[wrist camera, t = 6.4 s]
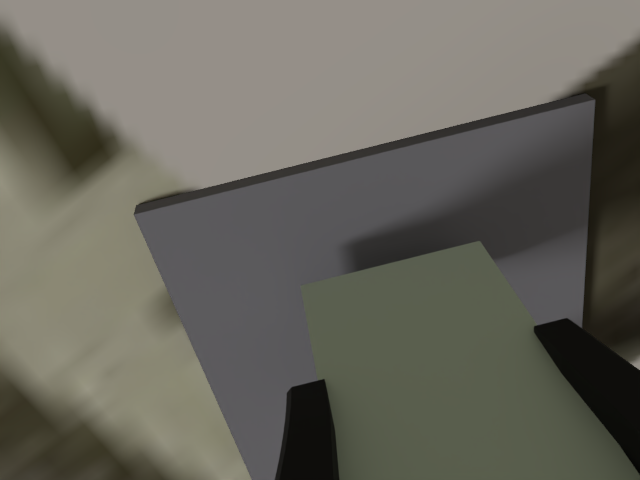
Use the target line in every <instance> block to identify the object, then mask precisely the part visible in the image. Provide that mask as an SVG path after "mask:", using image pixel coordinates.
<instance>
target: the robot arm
mask: <svg viewBox="0 0 640 480" xmlns="http://www.w3.org/2000/svg"><path fill="white" fill-rule="evenodd" d="M534 333H535V335H536V336H537V338H538V339H539V341H540V342H541V344H542V345H543V347H544V348H545V350H546V351H547V353H548V354H549V356H550V357H551V359H552V360H553V362H554V363H555V365H556V366H557V368H558V369H559V371H560V372H561V374H562V375H563V376H564V377H565V379H566V380H567V381H568V382H569V383H570V385H571V386H572V387H573V388H574V390H575V391H576V392H577V393H578V395H579V396H580V397H581V398H582V400H583V401H584V402H585V403H586V404H587V406H588V407H589V408H590V409H591V411H592V412H593V413H594V414H595V416H596V417H597V418H598V419H599V421H600V422H601V423H602V424H603V425H604V427H605V428H606V429H607V430H608V432H609V433H610V434H611V435H612V437H613V438H614V439H615V440H616V442H617V443H618V444H619V445H620V447H621V448H622V450H623V451H624V453H625V454H626V456H627V457H628V459H629V460H630V461H631V463H632V464H633V466H634V467H635V469H636V470H637V472H638V473H639V475H640V370H639V369H637V368H636V367H634V366H633V365H632V364H630V363H629V362H627V361H626V360H625V359H623V358H622V357H620V356H619V355H618V354H616V353H615V352H614V351H612V350H611V349H609V348H608V347H607V346H605V345H604V344H603V343H601V342H600V341H599V340H597V339H596V338H594V337H593V336H592V335H590V334H589V333H588V332H586V331H585V330H584V329H582V328H581V327H580V326H578V325H577V324H575V323H574V322H573V321H571V320H570V319H568V318H564V319H560V320H556V321H552V322H548V323H544V324H540V325H537V326H534ZM275 480H339V469H338V458H337V446H336V435H335V427H334V422H333V417H332V412H331V407H330V402H329V397H328V392H327V387H326V383H325V379H322V380H318V381H314V382H310V383H306V384H302V385H298V386H294V387H291V388H290V390H289V391H288V392H287V399H286V414H285V424H284V432H283V439H282V445H281V451H280V457H279V462H278V467H277V472H276V476H275Z"/></svg>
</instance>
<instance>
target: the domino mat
mask: <svg viewBox="0 0 640 480" xmlns="http://www.w3.org/2000/svg"><path fill="white" fill-rule="evenodd" d="M594 112H595V99H594V98H592V97H590V96H589V95H587V94H586V93H585V94H581V95H577V96H573V97H569V98H565V99H561V100H557V101H553V102H549V103H545V104H541V105H537V106H533V107H529V108H525V109H521V110H517V111H513V112H509V113H505V114H501V115H497V116H493V117H489V118H485V119H481V120H477V121H473V122H469V123H465V124H461V125H457V126H453V127H449V128H445V129H441V130H437V131H433V132H429V133H425V134H421V135H417V136H413V137H409V138H405V139H401V140H397V141H393V142H389V143H385V144H381V145H377V146H373V147H369V148H365V149H361V150H357V151H353V152H349V153H345V154H340V155H337V156H332V157H329V158H324V159H321V160H317V161H312V162H308V163H304V164H300V165H296V166H293V167H288V168H284V169H281V170H277V171H272V172H268V173H264V174H260V175H256V176H252V177H248V178H244V179H240V180H237V181H232V182H229V183H224V184H220V185H216V186H212V187H208V188H204V189H200V190H196V191H192V192H188V193H184V194H180V195H176V196H172V197H168V198H164V199H160V200H156V201H152V202H148V203H144V204H140V205H136V208H135V212H134V216H135V218H136V221H137V223H138V225H139V227H140V230H141V232H142V234H143V236H144V238H145V241H146V243H147V245H148V247H149V250H150V252H151V254H152V256H153V259H154V261H155V263H156V265H157V268H158V270H159V272H160V274H161V277H162V279H163V281H164V283H165V286H166V288H167V290H168V292H169V295H170V297H171V299H172V301H173V304H174V306H175V308H176V310H177V313H178V315H179V317H180V319H181V321H182V324H183V326H184V328H185V330H186V333H187V335H188V337H189V339H190V342H191V344H192V346H193V348H194V351H195V353H196V355H197V357H198V360H199V362H200V364H201V366H202V369H203V371H204V373H205V375H206V378H207V380H208V382H209V384H210V387H211V389H212V391H213V393H214V395H215V398H216V400H217V402H218V404H219V407H220V409H221V411H222V413H223V416H224V418H225V420H226V422H227V425H228V427H229V429H230V431H231V434H232V436H233V438H234V440H235V443H236V445H237V447H238V449H239V452H240V454H241V456H242V458H243V461H244V463H245V465H246V467H247V470H248V472H249V474H250V476H251V478H252V480H275V476H276V472H277V467H278V462H279V457H280V451H281V445H282V439H283V432H284V424H285V414H286V399H287V392H288V391H289V390H290V388H291V387H294V386H298V385H302V384H306V383H310V382H314V381H318V379H317V374H316V368H315V363H314V357H313V352H312V346H311V341H310V336H309V330H308V325H307V319H306V314H305V308H304V303H303V297H302V292H301V287H300V286H301V285H305V284H309V283H313V282H317V281H321V280H325V279H329V278H333V277H337V276H341V275H345V274H349V273H353V272H357V271H361V270H365V269H369V268H373V267H377V266H381V265H385V264H389V263H393V262H397V261H401V260H405V259H409V258H413V257H417V256H421V255H425V254H428V253H432V252H436V251H440V250H444V249H448V248H452V247H456V246H460V245H464V244H468V243H472V242H476V241H480V242H481V243H482V245H483V246H484V248H485V249H486V251H487V252H488V253H489V255H490V256H491V258H492V259H493V261H494V262H495V264H496V265H497V267H498V268H499V270H500V271H501V273H502V274H503V275H504V277H505V278H506V280H507V281H508V283H509V284H510V286H511V287H512V289H513V290H514V292H515V293H516V294H517V296H518V297H519V299H520V300H521V302H522V303H523V305H524V306H525V308H526V309H527V311H528V312H529V314H530V315H531V316H532V318H533V319H534V321H535V322H536V324H537V325H540V324H544V323H548V322H552V321H556V320H560V319H564V318H568V319H570V320H571V321H573V322H574V323H575V324H577V325H578V326H580V327H581V328H582V319H583V302H584V285H585V268H586V250H587V233H588V216H589V199H590V181H591V164H592V147H593V130H594Z"/></svg>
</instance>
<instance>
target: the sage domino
mask: <svg viewBox="0 0 640 480" xmlns="http://www.w3.org/2000/svg"><path fill="white" fill-rule="evenodd" d="M300 287H301V292H302V297H303V303H304V308H305V314H306V319H307V325H308V330H309V336H310V341H311V346H312V352H313V357H314V363H315V368H316V374H317V379H318V380H322V379H325V383H326V387H327V392H328V397H329V402H330V407H331V412H332V417H333V422H334V427H335V435H336V446H337V458H338V469H339V480H640V475H639V473H638V472H637V470H636V469H635V467H634V466H633V464H632V463H631V461H630V460H629V459H628V457H627V456H626V454H625V453H624V451H623V450H622V448H621V447H620V445H619V444H618V443H617V442H616V440H615V439H614V438H613V437H612V435H611V434H610V433H609V432H608V430H607V429H606V428H605V427H604V425H603V424H602V423H601V422H600V421H599V419H598V418H597V417H596V416H595V414H594V413H593V412H592V411H591V409H590V408H589V407H588V406H587V404H586V403H585V402H584V401H583V400H582V398H581V397H580V396H579V395H578V393H577V392H576V391H575V390H574V388H573V387H572V386H571V385H570V383H569V382H568V381H567V380H566V379H565V377H564V376H563V375H562V374H561V372H560V371H559V369H558V368H557V366H556V365H555V363H554V362H553V360H552V359H551V357H550V356H549V354H548V353H547V351H546V350H545V348H544V347H543V345H542V344H541V342H540V341H539V339H538V338H537V336H536V335H535V333H534V326H537V324H536V322H535V321H534V319H533V318H532V316H531V315H530V314H529V312H528V311H527V309H526V308H525V306H524V305H523V303H522V302H521V300H520V299H519V297H518V296H517V294H516V293H515V292H514V290H513V289H512V287H511V286H510V284H509V283H508V281H507V280H506V278H505V277H504V275H503V274H502V273H501V271H500V270H499V268H498V267H497V265H496V264H495V262H494V261H493V259H492V258H491V256H490V255H489V253H488V252H487V251H486V249H485V248H484V246H483V245H482V243H481V242H480V241H476V242H472V243H468V244H464V245H460V246H456V247H452V248H448V249H444V250H440V251H436V252H432V253H428V254H425V255H421V256H417V257H413V258H409V259H405V260H401V261H397V262H393V263H389V264H385V265H381V266H377V267H373V268H369V269H365V270H361V271H357V272H353V273H349V274H345V275H341V276H337V277H333V278H329V279H325V280H321V281H317V282H313V283H309V284H305V285H301V286H300Z"/></svg>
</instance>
